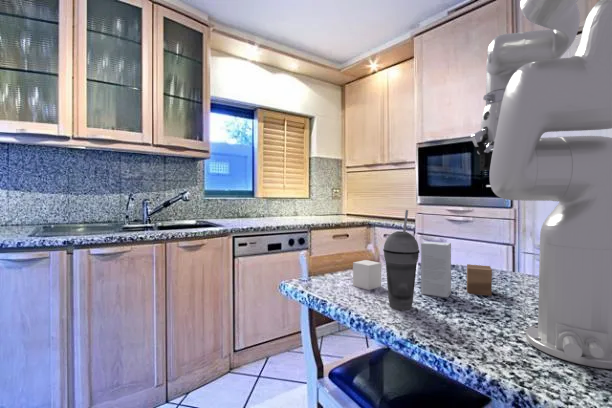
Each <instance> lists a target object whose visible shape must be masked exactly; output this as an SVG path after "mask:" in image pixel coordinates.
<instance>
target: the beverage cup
mask: <svg viewBox="0 0 612 408" xmlns="http://www.w3.org/2000/svg"><path fill="white" fill-rule="evenodd" d="M404 212H405V213H404V221H403V228H402V229H403V230H402V231H394V232H392V233H391V234H389V236H388V237H387V238H386V240H385V242H384V245H383V258H384V260H385V271H386V283H387V285H386V286H387V299H388V304H389V306H388V307H389V308H392V309H393V310H398V311H409V310H412V308H413V301H414V293H415V284H416V283H415V282H416V273H417V264H418V261H419V255H420V254H421V253H420V251H421V250H420V249H419V248H420V247H419V243H418V241H417V239H416V238H415V237H414V235H412V234H411V233H410V232H408V231H407V224H408V223H407V222H408V216H409V210H408V209H406V210H405V211H404Z"/></svg>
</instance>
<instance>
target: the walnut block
mask: <svg viewBox="0 0 612 408" xmlns="http://www.w3.org/2000/svg"><path fill="white" fill-rule="evenodd" d="M492 281H493V269H492V268H491V265H484V264H483V265H482V264H481V265H480V264H466V293H467V294H472V295H480V296H490V297H492V293H493V292H492V290H493V289H492V284H493V282H492Z"/></svg>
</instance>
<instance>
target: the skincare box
mask: <svg viewBox="0 0 612 408" xmlns="http://www.w3.org/2000/svg"><path fill="white" fill-rule="evenodd" d="M420 249H421V250H420V251H421V253H420V258H421V260H420V267H421V269H420V270H421V273H420V287H421V288H420V294H421V295H427V296H434V297H440V298H446V299H447V298H449V297H450V295H451V294H452V243H451V242H437V241H424V242H421V243H420Z"/></svg>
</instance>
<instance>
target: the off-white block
mask: <svg viewBox="0 0 612 408" xmlns="http://www.w3.org/2000/svg"><path fill="white" fill-rule="evenodd" d="M352 286H353V287H357V288H360V289H364V290H367V291H370V290H373V289H377V288H380V287H382V262H377V261H372V260H368V259H363V260H359V261H353V262H352Z"/></svg>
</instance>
